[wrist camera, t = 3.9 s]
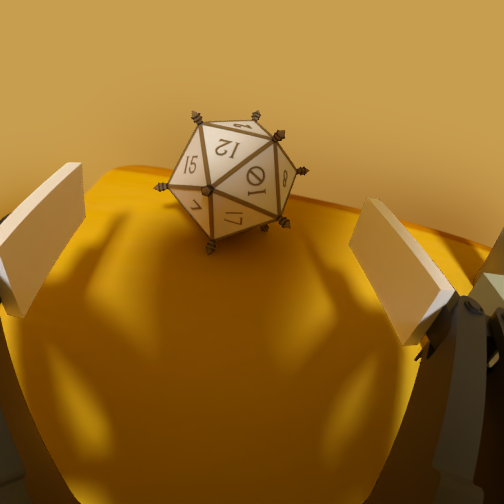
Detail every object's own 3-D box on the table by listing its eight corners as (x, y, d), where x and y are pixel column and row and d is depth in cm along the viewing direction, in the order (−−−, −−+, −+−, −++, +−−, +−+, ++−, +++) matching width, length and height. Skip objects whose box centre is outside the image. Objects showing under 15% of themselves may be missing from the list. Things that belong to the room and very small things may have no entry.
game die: (217, 256, 25) (255, 143, 25) (304, 286, 19) (345, 141, 19) (116, 224, 18) (172, 87, 18) (188, 252, 12) (263, 54, 13)
